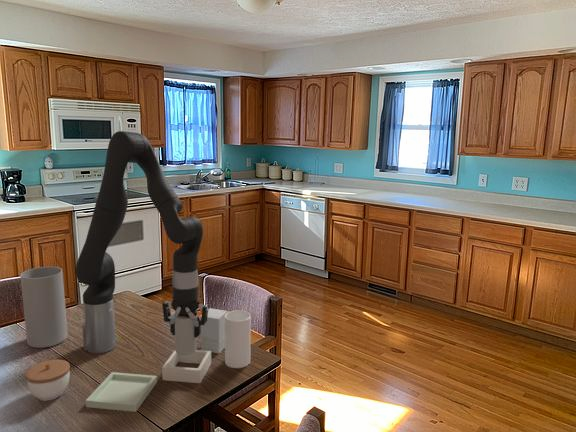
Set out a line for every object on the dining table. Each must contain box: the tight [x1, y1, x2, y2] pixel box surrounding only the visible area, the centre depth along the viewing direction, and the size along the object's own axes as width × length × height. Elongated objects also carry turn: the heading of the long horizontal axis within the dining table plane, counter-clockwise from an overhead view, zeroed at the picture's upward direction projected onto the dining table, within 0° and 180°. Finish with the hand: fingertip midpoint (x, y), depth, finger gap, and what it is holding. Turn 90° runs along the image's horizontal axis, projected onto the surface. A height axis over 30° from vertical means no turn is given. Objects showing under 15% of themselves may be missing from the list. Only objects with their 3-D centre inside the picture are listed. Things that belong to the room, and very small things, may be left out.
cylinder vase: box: [19, 266, 69, 349], centre depth 149 cm, size 12×12×25 cm
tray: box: [85, 371, 158, 413], centre depth 122 cm, size 14×14×2 cm
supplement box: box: [199, 307, 229, 354], centre depth 148 cm, size 7×7×13 cm
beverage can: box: [174, 315, 197, 355], centre depth 132 cm, size 6×6×12 cm
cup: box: [224, 309, 252, 369], centre depth 139 cm, size 8×8×16 cm
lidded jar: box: [25, 359, 71, 402], centre depth 121 cm, size 11×11×9 cm
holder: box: [161, 349, 212, 384], centre depth 134 cm, size 12×12×4 cm
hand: (185, 335), depth 132 cm, fingers closed on beverage can, 6 cm apart
